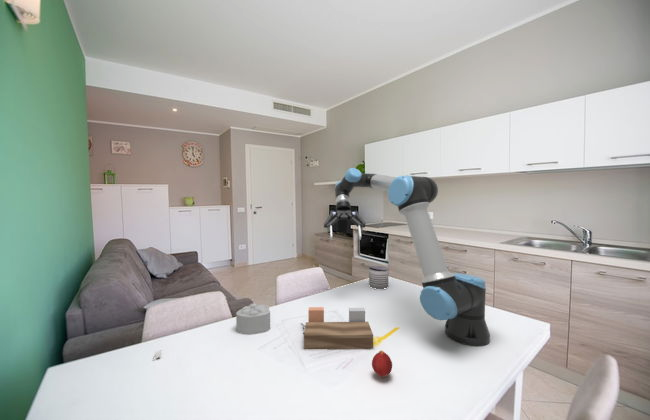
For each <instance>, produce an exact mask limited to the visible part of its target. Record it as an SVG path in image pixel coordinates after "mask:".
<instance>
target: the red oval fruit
mask: <svg viewBox="0 0 650 420" xmlns="http://www.w3.org/2000/svg"><path fill="white" fill-rule="evenodd" d="M371 367H372V371H374V373H375V374H376V375H377V376H379V377H381V378H384V377H387V376H389V375H390V374H391V372H392V370H393V362H392V359H391V357H390V355H389V354H387V353H386V352H385V351H384V350H382V349H381V350H379V352H376V354H375V355H373V356H372V359H371Z"/></svg>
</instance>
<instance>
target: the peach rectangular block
mask: <svg viewBox="0 0 650 420" xmlns="http://www.w3.org/2000/svg"><path fill="white" fill-rule="evenodd" d="M308 322H325V307H323V306H315V307H314V306H309V307H308Z"/></svg>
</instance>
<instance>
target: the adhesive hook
mask: <svg viewBox="0 0 650 420" xmlns="http://www.w3.org/2000/svg"><path fill="white" fill-rule="evenodd" d="M163 351H164V349H163V348H162V349H160V350H157V351H155V352H154V355H153V356H152V359H153V362H155V361H157V359H158V358H159V360H162V359H163V358H164V354H162V353H163Z"/></svg>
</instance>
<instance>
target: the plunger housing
mask: <svg viewBox="0 0 650 420" xmlns="http://www.w3.org/2000/svg"><path fill="white" fill-rule="evenodd" d="M304 349H327V350H374V333H373V331H372V329H371V325H370V323H369V321H365V322H349V321H324V322H309V321H306V322H305V324H304V333H303V350H304Z"/></svg>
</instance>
